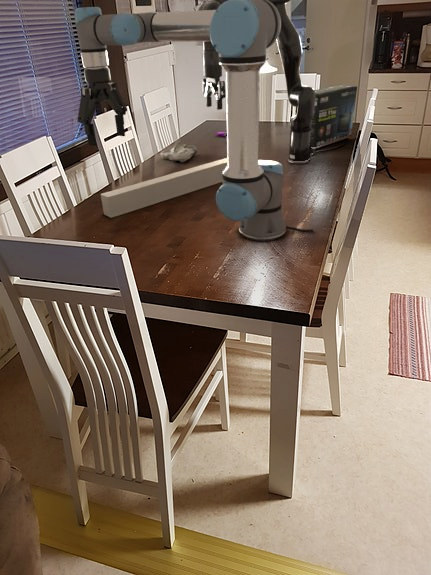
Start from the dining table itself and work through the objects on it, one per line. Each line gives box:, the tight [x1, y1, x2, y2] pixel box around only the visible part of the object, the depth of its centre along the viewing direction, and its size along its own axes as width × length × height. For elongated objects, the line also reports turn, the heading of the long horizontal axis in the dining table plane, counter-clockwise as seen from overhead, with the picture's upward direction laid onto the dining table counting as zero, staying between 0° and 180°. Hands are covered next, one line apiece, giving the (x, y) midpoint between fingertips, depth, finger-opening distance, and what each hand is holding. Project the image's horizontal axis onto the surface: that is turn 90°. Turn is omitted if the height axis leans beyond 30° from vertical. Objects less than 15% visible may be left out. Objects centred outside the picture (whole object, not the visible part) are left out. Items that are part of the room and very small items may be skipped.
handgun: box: [216, 131, 227, 137], centre depth 261 cm, size 21×8×2 cm, turn 11°
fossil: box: [160, 142, 199, 163], centre depth 229 cm, size 18×11×15 cm
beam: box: [100, 157, 227, 219], centre depth 184 cm, size 69×5×8 cm, turn 132°
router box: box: [310, 84, 358, 147], centre depth 238 cm, size 36×11×27 cm, turn 134°
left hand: (107, 140), depth 148 cm, fingers open, 13 cm apart
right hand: (214, 108), depth 183 cm, fingers open, 8 cm apart
